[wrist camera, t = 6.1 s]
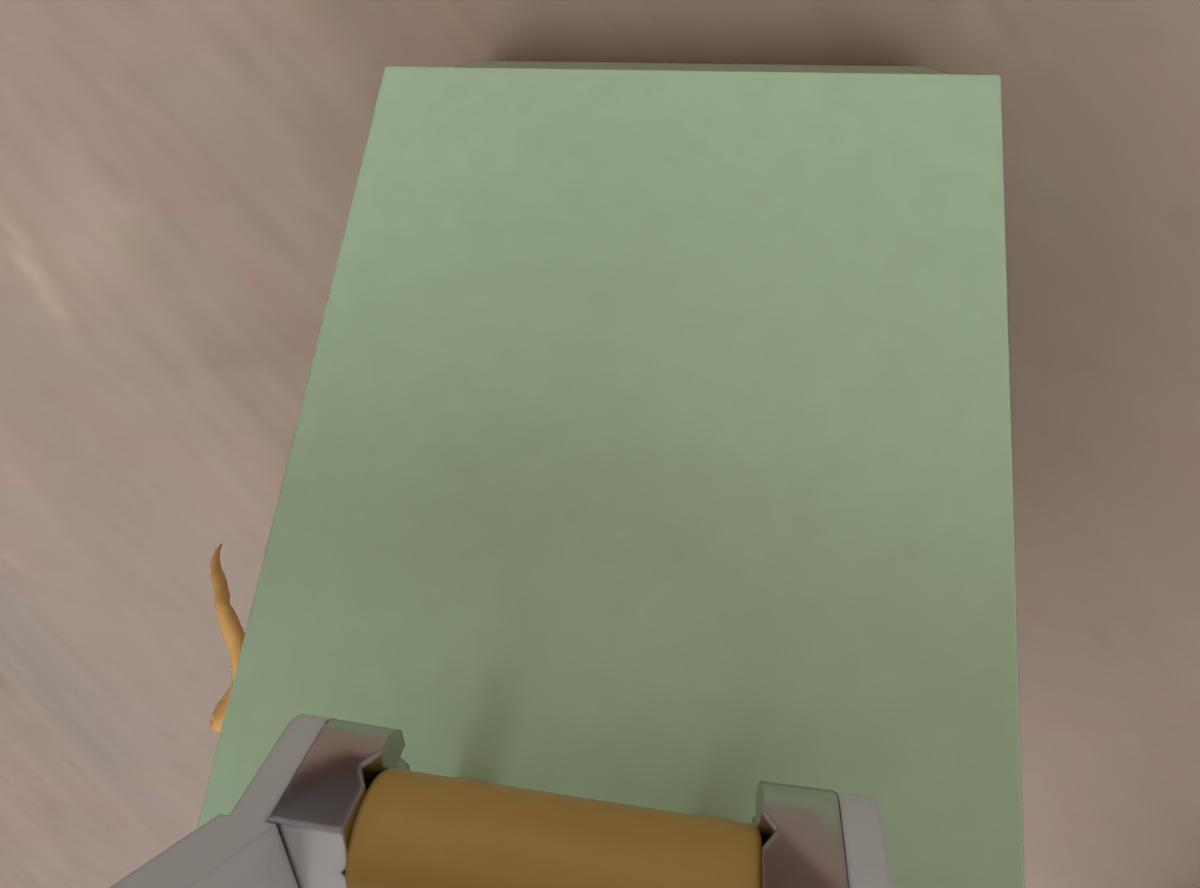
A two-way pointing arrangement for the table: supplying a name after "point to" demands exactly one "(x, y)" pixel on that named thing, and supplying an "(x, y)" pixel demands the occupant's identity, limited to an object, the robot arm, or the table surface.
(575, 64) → the chest
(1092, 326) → the table surface
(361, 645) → the chest lid
